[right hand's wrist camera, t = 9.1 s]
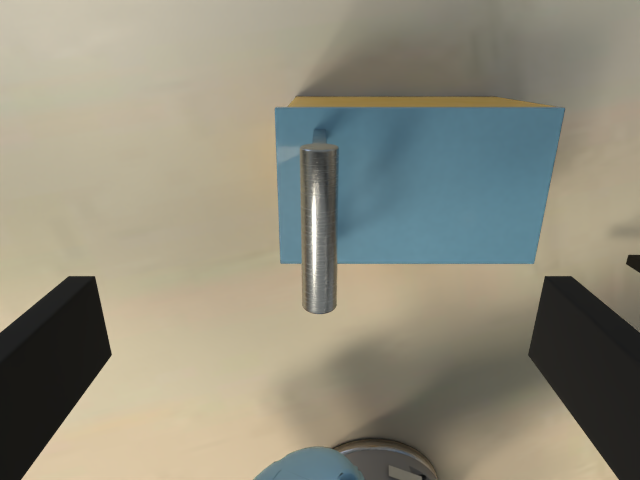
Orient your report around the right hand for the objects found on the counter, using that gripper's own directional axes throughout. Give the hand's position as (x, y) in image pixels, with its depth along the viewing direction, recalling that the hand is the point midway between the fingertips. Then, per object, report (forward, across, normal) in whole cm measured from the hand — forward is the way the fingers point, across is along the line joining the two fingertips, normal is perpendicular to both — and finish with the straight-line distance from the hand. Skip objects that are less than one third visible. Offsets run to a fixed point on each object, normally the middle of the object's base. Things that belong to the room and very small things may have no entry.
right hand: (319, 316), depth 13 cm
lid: (+15, -6, 0) cm, 16 cm away
